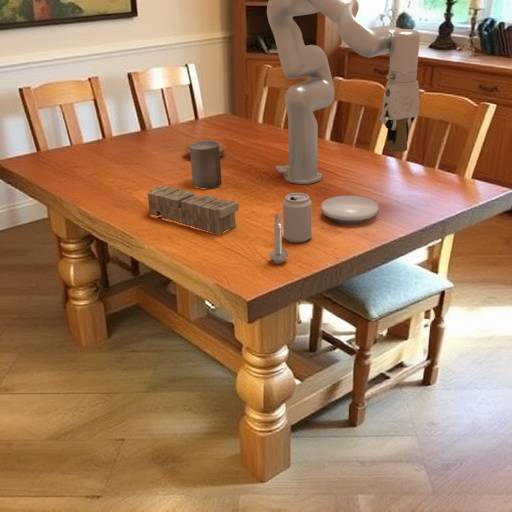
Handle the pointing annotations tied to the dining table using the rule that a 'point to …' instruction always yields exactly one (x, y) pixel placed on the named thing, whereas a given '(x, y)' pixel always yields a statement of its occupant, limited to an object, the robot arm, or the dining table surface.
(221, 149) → the pie
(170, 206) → the block tower
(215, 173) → the pillar candle
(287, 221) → the can
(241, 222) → the dining table surface
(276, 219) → the screw
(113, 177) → the dining table surface
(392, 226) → the dining table surface
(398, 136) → the cork
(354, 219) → the grey plate
